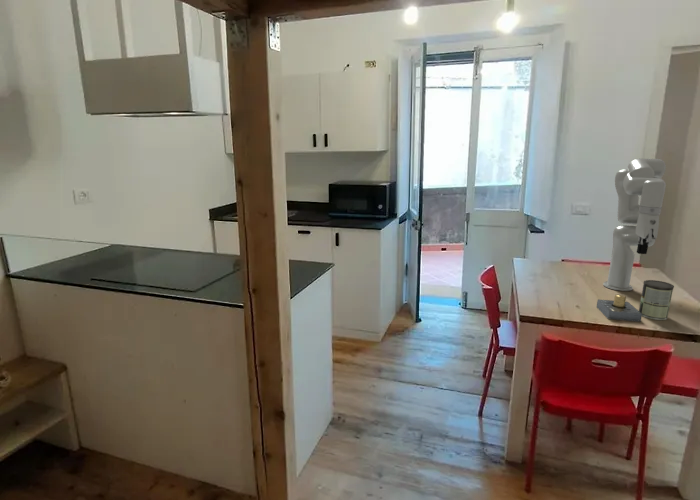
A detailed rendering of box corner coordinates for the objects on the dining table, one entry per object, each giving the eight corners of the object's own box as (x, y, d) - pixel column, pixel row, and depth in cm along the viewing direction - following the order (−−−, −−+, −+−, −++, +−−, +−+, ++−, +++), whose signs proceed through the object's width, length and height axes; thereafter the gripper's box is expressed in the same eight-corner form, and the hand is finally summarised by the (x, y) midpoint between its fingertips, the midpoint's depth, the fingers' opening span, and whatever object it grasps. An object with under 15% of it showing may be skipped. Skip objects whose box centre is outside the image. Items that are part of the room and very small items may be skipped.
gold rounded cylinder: (620, 312, 182) (623, 294, 180) (624, 316, 178) (627, 297, 176) (610, 311, 182) (613, 294, 181) (614, 315, 179) (617, 297, 177)
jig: (596, 306, 188) (597, 299, 187) (626, 309, 185) (627, 301, 185) (608, 318, 175) (609, 310, 174) (640, 321, 172) (642, 313, 171)
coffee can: (632, 310, 184) (637, 279, 180) (655, 310, 184) (661, 279, 181) (649, 320, 174) (655, 287, 170) (673, 320, 174) (680, 287, 171)
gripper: (668, 214, 167) (659, 258, 172) (652, 207, 181) (644, 249, 186) (646, 213, 169) (638, 257, 174) (632, 207, 183) (625, 248, 188)
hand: (641, 253), depth 180 cm, fingers closed
